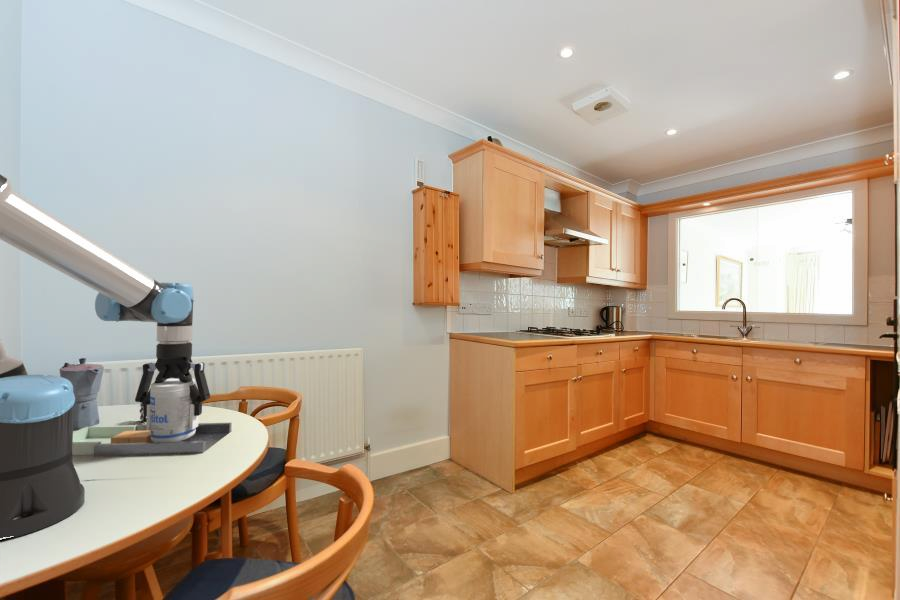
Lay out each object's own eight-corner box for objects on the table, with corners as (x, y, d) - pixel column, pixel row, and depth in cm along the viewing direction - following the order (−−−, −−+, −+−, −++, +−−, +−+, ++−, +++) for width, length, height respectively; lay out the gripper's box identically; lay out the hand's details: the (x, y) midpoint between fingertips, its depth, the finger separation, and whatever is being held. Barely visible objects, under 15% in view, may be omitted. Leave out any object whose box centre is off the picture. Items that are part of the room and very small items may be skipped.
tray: (97, 455, 90) (97, 443, 90) (40, 457, 89) (41, 444, 89) (136, 436, 104) (136, 425, 104) (87, 437, 102) (87, 426, 102)
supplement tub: (140, 444, 95) (139, 386, 94) (171, 430, 104) (170, 377, 104) (177, 445, 94) (175, 386, 93) (205, 431, 103) (203, 377, 103)
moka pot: (79, 434, 104) (80, 361, 105) (36, 429, 108) (38, 359, 108) (116, 423, 114) (117, 356, 114) (75, 419, 117) (77, 354, 117)
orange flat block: (146, 446, 96) (146, 436, 96) (129, 447, 95) (129, 437, 95) (159, 439, 100) (159, 430, 100) (142, 440, 100) (142, 430, 100)
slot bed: (202, 454, 92) (202, 443, 92) (92, 458, 89) (92, 446, 89) (231, 432, 108) (232, 422, 108) (139, 434, 105) (139, 424, 105)
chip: (128, 447, 95) (128, 437, 95) (110, 447, 94) (110, 437, 94) (141, 440, 100) (142, 430, 100) (125, 440, 99) (125, 431, 99)
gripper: (226, 340, 104) (224, 422, 103) (138, 340, 101) (136, 424, 101) (212, 343, 96) (210, 432, 96) (117, 343, 94) (115, 434, 94)
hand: (172, 428), depth 98 cm, fingers closed on supplement tub, 9 cm apart
